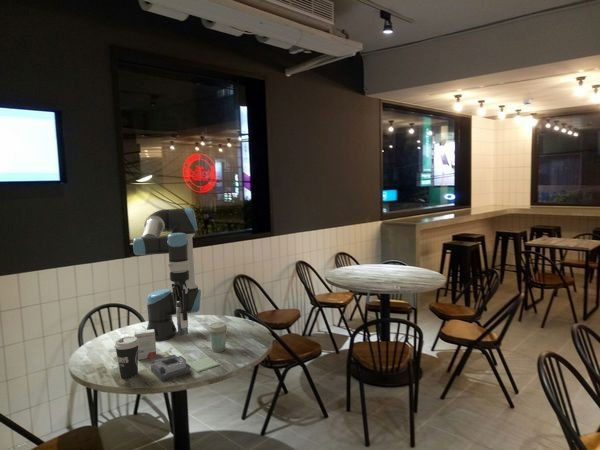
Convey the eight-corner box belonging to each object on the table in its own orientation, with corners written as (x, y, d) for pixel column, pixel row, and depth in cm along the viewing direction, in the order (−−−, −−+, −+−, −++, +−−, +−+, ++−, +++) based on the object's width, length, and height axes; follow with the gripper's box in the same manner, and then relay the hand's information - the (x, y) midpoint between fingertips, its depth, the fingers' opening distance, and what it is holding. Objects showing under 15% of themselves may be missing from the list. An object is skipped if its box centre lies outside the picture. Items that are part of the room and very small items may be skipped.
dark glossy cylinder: (176, 333, 178) (174, 300, 176) (185, 331, 180) (183, 299, 179) (180, 336, 175) (178, 302, 173) (189, 333, 177) (187, 301, 176)
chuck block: (151, 371, 178) (150, 361, 177) (178, 363, 185) (178, 353, 185) (162, 381, 168) (161, 370, 168) (190, 372, 176) (190, 361, 175)
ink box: (156, 353, 197) (154, 328, 196) (156, 357, 192) (154, 331, 191) (136, 355, 194) (134, 330, 193) (136, 360, 190) (134, 334, 188)
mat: (187, 364, 183) (186, 363, 183) (208, 358, 190) (208, 356, 189) (197, 372, 176) (197, 370, 176) (219, 365, 182) (218, 363, 182)
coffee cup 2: (224, 354, 193) (222, 328, 192) (206, 353, 195) (205, 327, 194) (230, 346, 202) (229, 322, 200) (213, 345, 203) (212, 321, 202)
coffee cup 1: (121, 370, 179) (118, 336, 178) (144, 369, 180) (141, 334, 179) (113, 381, 170) (110, 345, 168) (137, 379, 171) (135, 343, 169)
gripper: (163, 269, 179) (166, 322, 182) (178, 275, 166) (181, 333, 168) (180, 266, 184) (183, 319, 186) (196, 272, 170) (199, 329, 173)
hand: (182, 325), depth 177 cm, fingers closed on dark glossy cylinder, 4 cm apart
